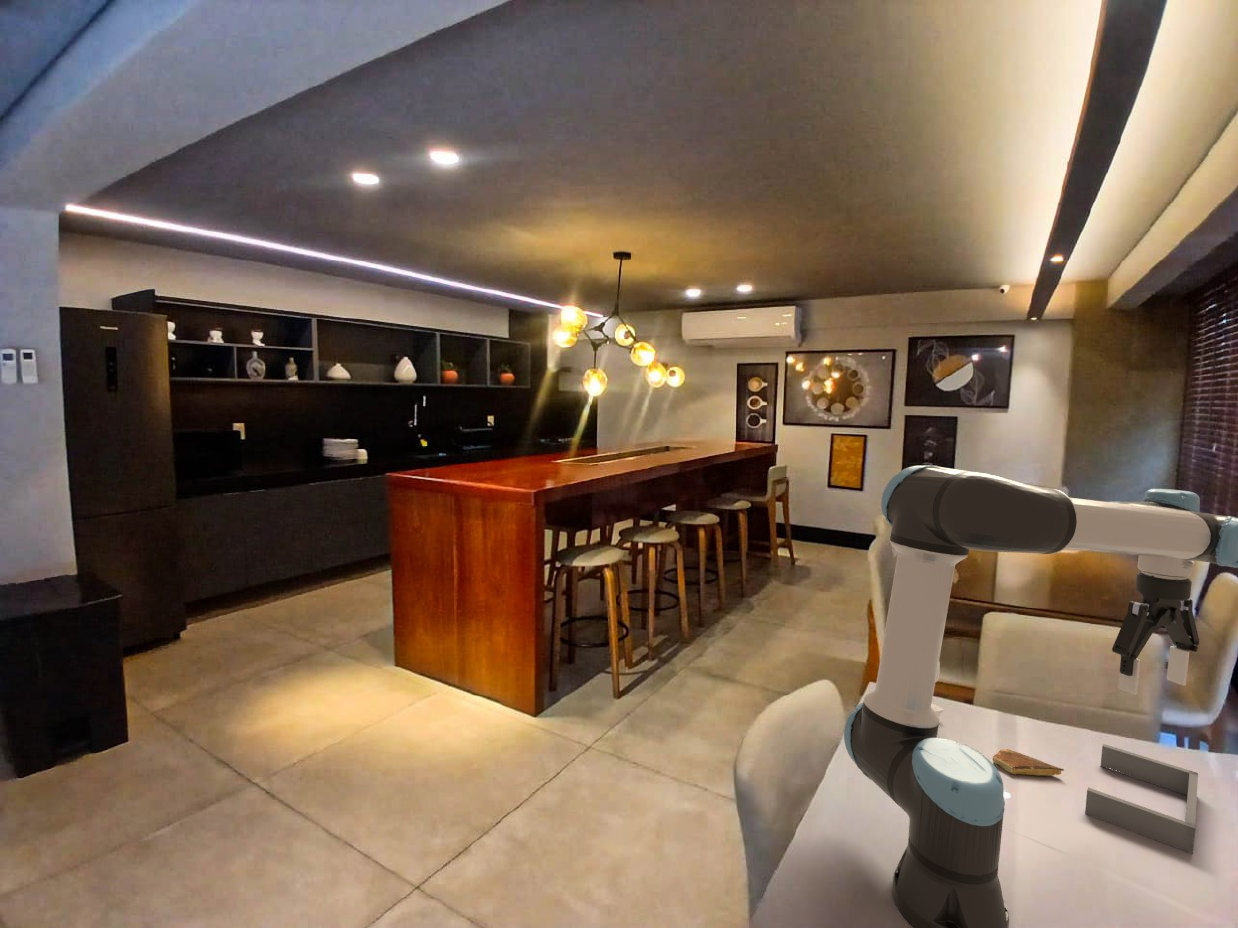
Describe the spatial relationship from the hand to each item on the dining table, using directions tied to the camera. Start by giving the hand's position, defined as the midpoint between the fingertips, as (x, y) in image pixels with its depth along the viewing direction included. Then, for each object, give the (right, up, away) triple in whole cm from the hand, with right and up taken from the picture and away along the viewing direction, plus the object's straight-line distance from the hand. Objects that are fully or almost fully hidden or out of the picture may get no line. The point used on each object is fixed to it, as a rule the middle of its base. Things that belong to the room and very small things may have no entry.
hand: (1152, 687), depth 114 cm
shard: (-11, -23, +14) cm, 29 cm away
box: (+1, -23, +2) cm, 23 cm away
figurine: (-27, -20, +33) cm, 47 cm away
